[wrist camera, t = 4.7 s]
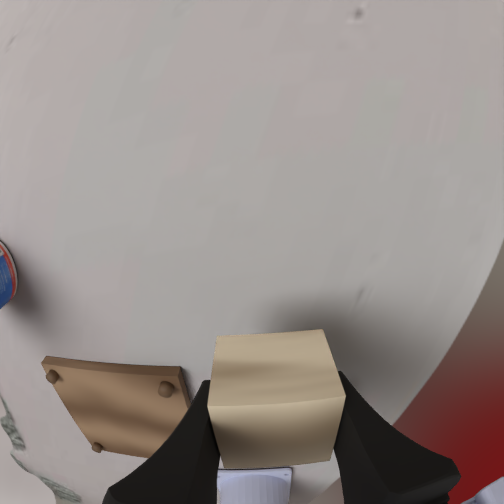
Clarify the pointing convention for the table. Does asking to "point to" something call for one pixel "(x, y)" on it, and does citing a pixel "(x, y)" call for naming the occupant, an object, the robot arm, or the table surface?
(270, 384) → the birch block
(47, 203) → the table surface
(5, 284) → the pill bottle
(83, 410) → the base plate
